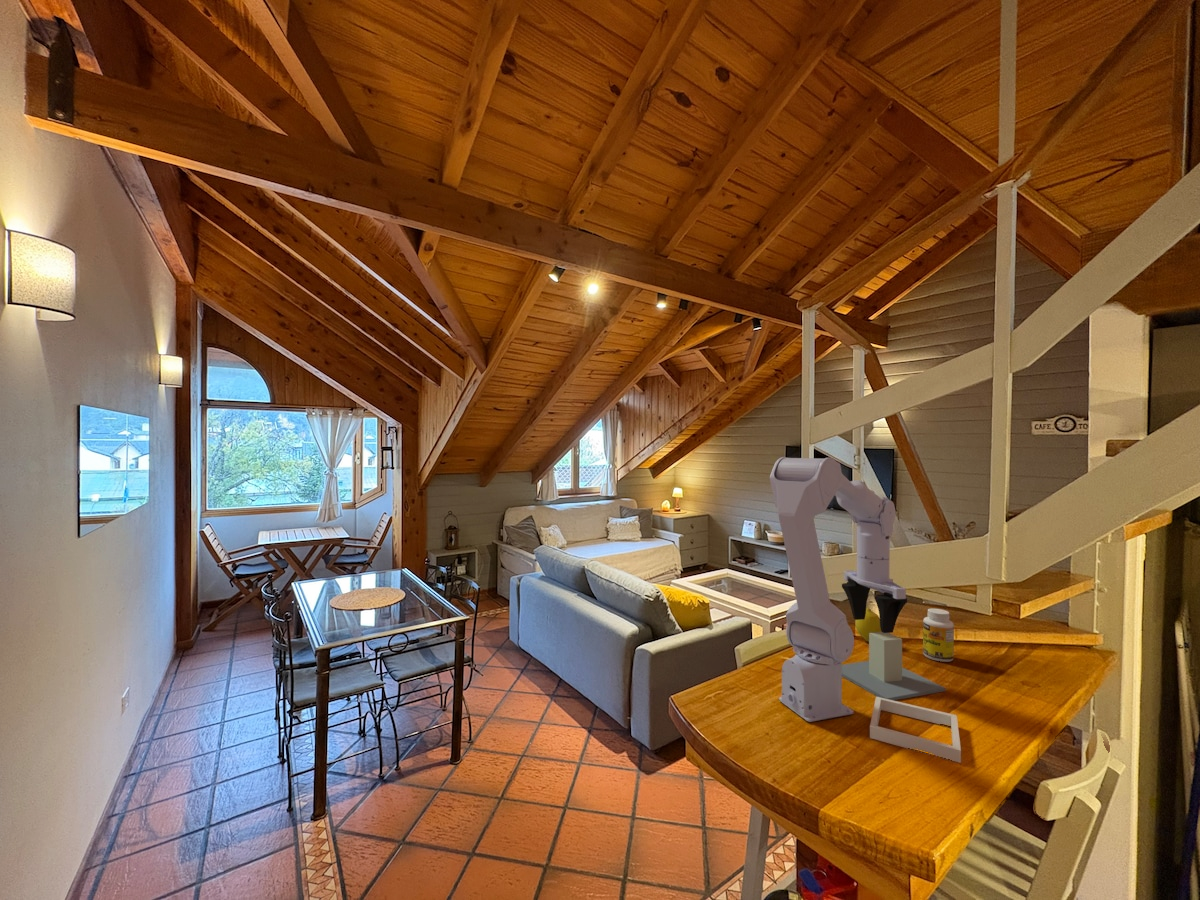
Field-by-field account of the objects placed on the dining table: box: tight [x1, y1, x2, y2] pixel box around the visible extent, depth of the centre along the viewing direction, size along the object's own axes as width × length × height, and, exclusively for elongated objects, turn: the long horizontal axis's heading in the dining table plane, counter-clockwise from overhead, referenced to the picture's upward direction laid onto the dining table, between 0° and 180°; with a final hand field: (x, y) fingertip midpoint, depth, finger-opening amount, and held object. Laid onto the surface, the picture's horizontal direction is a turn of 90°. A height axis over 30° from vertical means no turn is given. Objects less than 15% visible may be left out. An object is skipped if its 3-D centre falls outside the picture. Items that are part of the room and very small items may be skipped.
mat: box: [842, 660, 946, 701], centre depth 99 cm, size 14×14×1 cm
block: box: [868, 632, 903, 682], centre depth 99 cm, size 4×4×8 cm
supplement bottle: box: [922, 607, 955, 663], centre depth 110 cm, size 6×6×10 cm
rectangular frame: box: [869, 696, 962, 764], centre depth 81 cm, size 12×12×2 cm
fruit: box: [854, 607, 881, 643], centre depth 119 cm, size 6×6×8 cm
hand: (872, 625), depth 100 cm, fingers open, 7 cm apart
